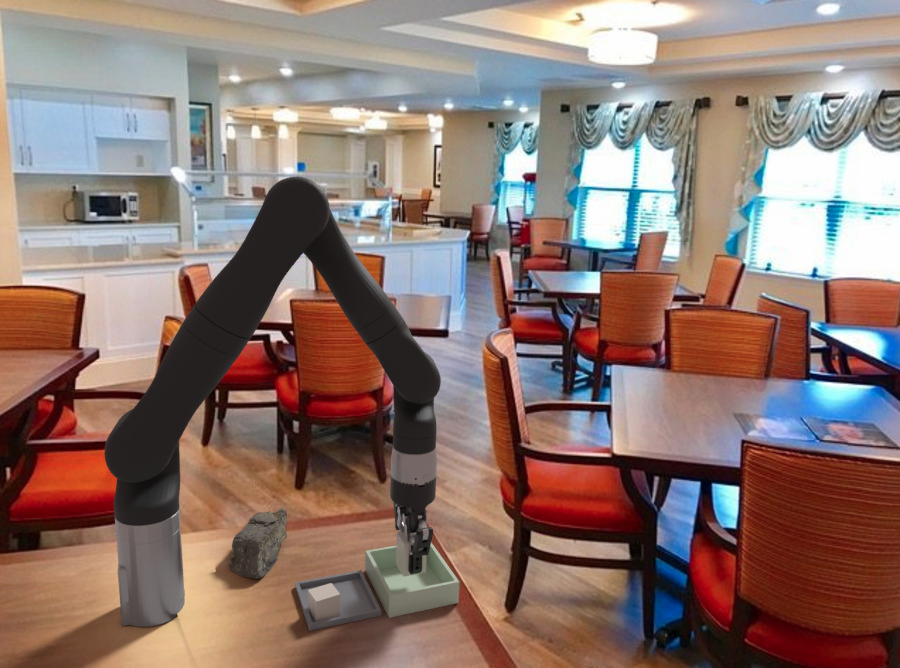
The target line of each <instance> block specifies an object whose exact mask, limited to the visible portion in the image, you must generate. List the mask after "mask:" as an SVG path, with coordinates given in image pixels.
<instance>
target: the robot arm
mask: <svg viewBox="0 0 900 668" xmlns="http://www.w3.org/2000/svg"><path fill="white" fill-rule="evenodd" d="M330 206H331V205H330V202H329V199H328V196H327V194H326V193H325V191H324V189H322V187H321V186H320V185H319V184H318V183H316V182H315V181H313V180H311V179H310V178H306V177H303V176H289V177H286V178H282V179H281V180H279V181H278V182H276V183H275V184H273V186H271V187H270V188H269V190H268V192H267V193H266V196H265V197H264V199H263V202H262V205H261V207H260V209H259V212H258V214H257V216H256V217H255V219H254V221H253V224H252V225H251V228H250V229H249V231H248V233H247V235H245V238H244V240H243V242H242V243H241V245H240V246H239V248H238V249H237V251H236V253H235V254H234V255H233V257H232V258H231V259H230V260H229V261H228V262H227V264H226V265H225V266H224V267H223V268H222V269H221V270H220V271H219V273H217V275H216V276H215V277H214V278H213V280H212V281H211V282H210V283H209V285H208V286H207V287H206V288H205V289H204V291H203V293H202V294H201V295H200V296H199V298H198V299H197V300H196V302H195V304H194V305H193V306H192V308H191V309H190V311H189V313H188V314H187V316H186V317H185V319H184V320H183V322H182V323H181V324H180V327H179V328H178V330H177V332H176V334H175V336H174V337H173V339H172V341H171V343H170V344H169V347H168V348H167V350H166V352H165V355H164V357H163V358H162V361H161V363H160V365H159V366H158V367H159V368H158V369H157V372H156V374H155V375H154V377H153V379H152V381H151V383H150V385H148V386H149V387H148V388H147V390H146V391H145V392H144V394H143V395H142V397H141V398H140V399H139V401H137V404H135V406H134V407H133V408H132V409H130V410H128V411H126V412H125V413H124V414H122V415H121V417H120V418H119V419H118V420H117V422H116V424H115V425H114V427H113V428H112V430H111V432H110V433H109V435H108V436H107V439H106V442H105V444H104V461H105V465H106V467H107V469H108V471H109V472H110V474H112V475H113V477H115V478H116V487H115V492H114V498H113V512H114V523H115V537H116V548H117V549H116V551H117V561H118V563H117V580H118V591H119V592H118V593H119V605H120V618H121V619H120V621H121V626H123V627H125V626H135V627H138V628H139V627H144V628H147V627H155V626H160V625H162V624H165V623H167V622H170V621H172V620H173V619H175V618H177V616H178V614H179V613H180V612H181V611H182V609H184V607H185V600H186V599H185V595H186V593H185V581H184V580H185V577H184V561H183V549H182V548H183V547H182V546H183V545H182V529H181V512H180V511H181V510H180V490H181V460H180V459H181V458H180V454H181V453H180V440H181V437H182V436H183V434H184V432H185V430H186V428H187V427H188V425H189V424H190V421H191V420H192V418H193V416H194V415H195V413H196V412H197V410H198V409H199V408H200V407H201V405H202V404H203V403H204V402H205V400H206V399H207V398H208V397H209V395H210V394H211V393H212V391H214V390H215V388H216V387H217V386H218V385H219V383H220V382H221V380H222V379H223V378H224V377H225V375H226V374H227V373H228V372H229V370H230V368H231V367H232V366H233V364H234V363H235V362H236V360H237V359H238V358H239V356H240V355H241V354H242V352H243V350H244V349H245V348H246V346H247V344H249V342H250V340H251V338H252V337H253V335H254V334H255V332H256V331H257V328H258V327H259V325H260V324H261V321H262V320H263V318H264V317H265V314H266V313H267V312H268V311H267V310H268V309H269V307H270V305H271V303H272V301H273V298H274V297H275V295H276V293H277V291H278V288H279V286H280V285H281V283H282V281H283V280H284V279H285V277H286V275H287V274H288V272H290V270H291V269H292V267H293V266H294V265H295V263H297V261H298V260H299V259H300V258H301V256H302V255H303V254H304V256H305V257H306V258H307V259H308V260H309V261H310V262H311V264H312V266H313V267H314V268H315V269H316V271H318V273H319V275H320V276H321V277H322V279H323V280H324V282H325V283H326V285H327V287H328V289H329V290H330V292H331V294H332V296H333V298H334V299H335V300H336V302H337V304H338V306H339V307H340V309H341V311H342V312H343V314H344V316H345V317H346V318H347V320H348V321H349V323H350V324H351V325H352V327H353V328H354V330H355V331H356V332H357V334H358V335H359V337H360V338H361V340H362V341H363V342H364V344H365V345H366V346H367V348H368V349H369V350H370V351H371V352H372V354H373V355H374V356H375V357H376V359H377V360H378V362H379V365H381V367H382V369H383V370H384V372H385V374H386V376H387V378H388V379H389V381H390V382H391V384H392V389H393V406H394V415H393V416H394V418H393V425H392V426H393V428H392V430H393V431H392V450H391V451H392V452H391V456H390V482H389V483H390V484H389V485H390V487H389V489H390V490H389V497H390V500H391V501H392V502H393V511H394V525H395V526H394V527H395V528H394V529H395V530H396V531H398V532H404V531H405V539H406V540H407V541H408V543H409V566H408V571H409V573H410V574H416V573H420V572H421V571H422V556H423V555H428V554H429V550H430V545H431V542H432V540H433V536H434V529H433V527H432V526H431V527H430V526H429V527H428V526H427V522H428V511H427V510H426V508H427V507H428V506H430V505H431V504H432V503H433V502H434V501H435V499H436V495H437V494H436V491H437V489H436V488H437V466H438V463H437V462H438V457H437V456H438V455H437V431H438V430H437V418H436V414H435V409H434V406H435V397H436V396H437V395H438V394H439V392H440V388H441V382H442V378H441V374H440V371H439V369H438V367H437V365H436V363H435V361H434V359H433V358H432V357H431V355H430V354H428V353H427V352H426V351H424V350H423V349H422V347H421V346H420V345H419V343H418V341H416V339H415V337H414V336H413V335H412V333H411V332H412V331H410V328H409V325H408V324H407V323H406V321H405V319H404V317H402V315H401V313H400V311H399V310H398V309H397V308H396V306H395V305H394V303H393V302H392V300H391V299H390V297H389V296H388V295H387V293H386V292H385V291H384V290H383V288H382V287H381V285H380V284H379V283H378V282H377V279H375V278H374V277H373V275H372V274H371V273H370V271H369V270H368V269H367V268H366V267H365V265H364V264H363V263H362V261H361V260H360V259H359V258H358V256H357V254H356V253H355V252H354V250H353V249H352V248H351V246H350V244H349V243H348V241H347V239H346V238H345V236H344V234H343V233H342V230H341V229H340V227H339V225H338V223H337V220H336V219H335V217H334V214H333V212H332V210H331V209H330V208H331V207H330ZM410 533H415V534H413V535H410ZM413 542H414V545H413Z"/></svg>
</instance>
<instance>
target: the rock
mask: <svg viewBox="0 0 900 668" xmlns="http://www.w3.org/2000/svg"><path fill="white" fill-rule="evenodd" d="M287 524H288V513H287V510H286V509H285V508H280V509H279V510H276V511H272V510H268V511H263V512H261V511H259V512H257V513H255V514H254V515H252V517H251V518H250V519H249V521H248V522H247V523H246V524H245V525H244V527H243V528H242V529H241V530H240V531H238V532H237V534H236V535H235V536H234V537H233V539H232V541H231V542H232V543H231V557H230V558H229V560H228V564H227V565H228V567H229V568H230V570H231V572H233V573H234V574H237V575H238V576H241V577H244V578H249V579H254V580H259V579H261V578H263V577H265V576H266V574H268V572H270V571H271V569H273V567H274V566H275V565H276V563H277V561H278V557H279V553H280V551H281V549H280V548H281V545H282V543H283V542H284V541H285V540H286V539H287V537H288V533H287Z"/></svg>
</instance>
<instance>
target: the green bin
mask: <svg viewBox="0 0 900 668" xmlns="http://www.w3.org/2000/svg"><path fill="white" fill-rule="evenodd" d="M364 557H365V560H364V561H365V562H364V564H365V568H364V569H365V574H366V575H367V577H368V579H369V581H370V583H371V585H372V587H373V589H374V591H375V593H376V595H377V597H378V599H379V600H380V603H381V605H382V607H383V609H384V611H385V613H386V614H387V617H388V618H389V619H390V618H394V617H401V616H405V615H409V614H413V613H418V612H423V611H426V610H427V611H429V610H432V609H436V608H442V607H445V606H447V607H448V606H451V605H456V604H460V603H459V599H460V598H459V597H460V581H459V579H458V578H457V576H456V575H455V574H454V572H453V571H452V569H451V568H450V567H449V565H448V564H447V562H446V561H445V559H444V558H443V556H442V555H441V554H440V552H439V551H438V550H437V548H436V547H435V545H434V544H433V542H432V541H431V545H430V550H429V554H428V555H427V556H426V573H421V574H415V575H410V576H405V577H403V575H402V574H401V572H400V570H399V569H398V567H397V565H396V545H392V546H385V547H379V548H375V549H368V550H365V556H364Z"/></svg>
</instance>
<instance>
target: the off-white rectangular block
mask: <svg viewBox="0 0 900 668" xmlns="http://www.w3.org/2000/svg"><path fill="white" fill-rule="evenodd" d="M413 534H415V533H410V535H413ZM413 545H414V542H413ZM395 546H396V565H397V567H398V569H399V570H400V572H401V574H402V575H403V577H405V576H410V575H415V574H410V573H409V571H408V566H409V543H408V541H407V540H406V539H405V531H404V532H399V531H397V532H396V545H395ZM426 556H427V555H423V556H422V571H421V572H420V573H416V574H421V573H426Z"/></svg>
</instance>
